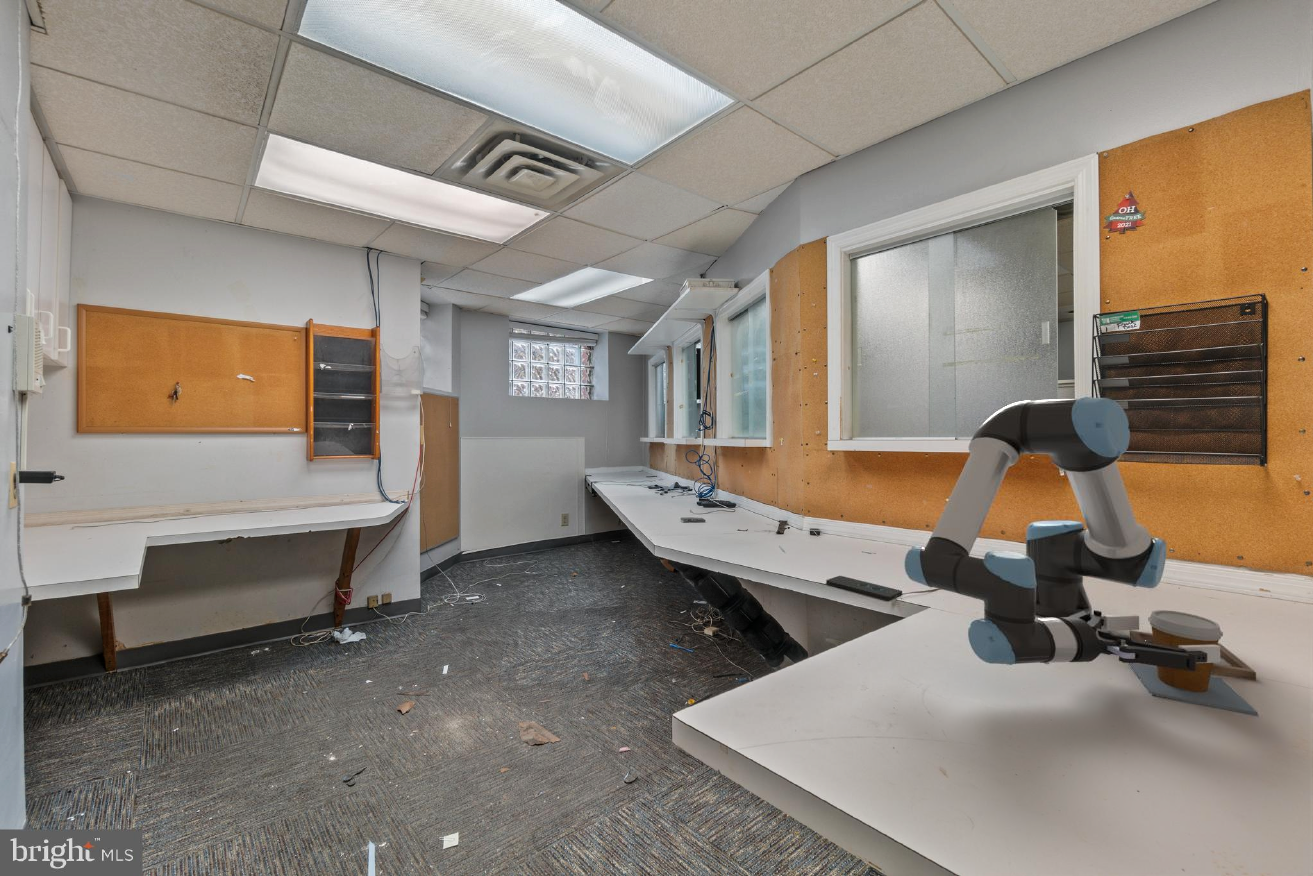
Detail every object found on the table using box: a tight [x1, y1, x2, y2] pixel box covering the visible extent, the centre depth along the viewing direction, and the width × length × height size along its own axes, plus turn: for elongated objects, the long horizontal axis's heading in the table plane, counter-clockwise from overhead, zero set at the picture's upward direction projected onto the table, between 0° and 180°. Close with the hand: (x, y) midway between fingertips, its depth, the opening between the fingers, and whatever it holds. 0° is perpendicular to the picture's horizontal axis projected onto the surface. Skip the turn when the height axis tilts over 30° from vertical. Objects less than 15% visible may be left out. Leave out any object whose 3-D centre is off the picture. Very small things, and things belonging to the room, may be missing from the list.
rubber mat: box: [1128, 663, 1259, 716], centre depth 92 cm, size 13×13×1 cm
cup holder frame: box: [1128, 630, 1257, 681], centre depth 104 cm, size 14×14×2 cm
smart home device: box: [825, 575, 903, 602], centre depth 149 cm, size 8×2×20 cm
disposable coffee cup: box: [1147, 609, 1224, 692], centre depth 92 cm, size 10×10×12 cm
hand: (1174, 636), depth 91 cm, fingers open, 13 cm apart
